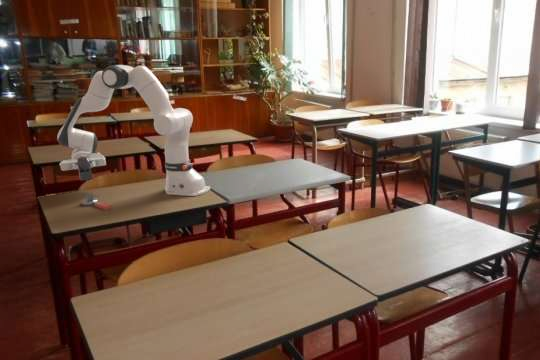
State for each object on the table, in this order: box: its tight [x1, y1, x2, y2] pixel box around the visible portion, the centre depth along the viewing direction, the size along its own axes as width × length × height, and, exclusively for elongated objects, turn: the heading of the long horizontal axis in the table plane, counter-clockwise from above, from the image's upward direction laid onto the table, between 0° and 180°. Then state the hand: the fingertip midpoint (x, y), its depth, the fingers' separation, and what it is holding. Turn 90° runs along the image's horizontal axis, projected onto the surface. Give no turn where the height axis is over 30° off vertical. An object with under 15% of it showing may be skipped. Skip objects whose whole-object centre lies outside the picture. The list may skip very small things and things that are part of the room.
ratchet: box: [81, 192, 113, 211], centre depth 211 cm, size 18×7×4 cm, turn 53°
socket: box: [77, 157, 93, 182], centre depth 221 cm, size 5×5×10 cm
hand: (84, 166), depth 220 cm, fingers closed on socket, 5 cm apart
